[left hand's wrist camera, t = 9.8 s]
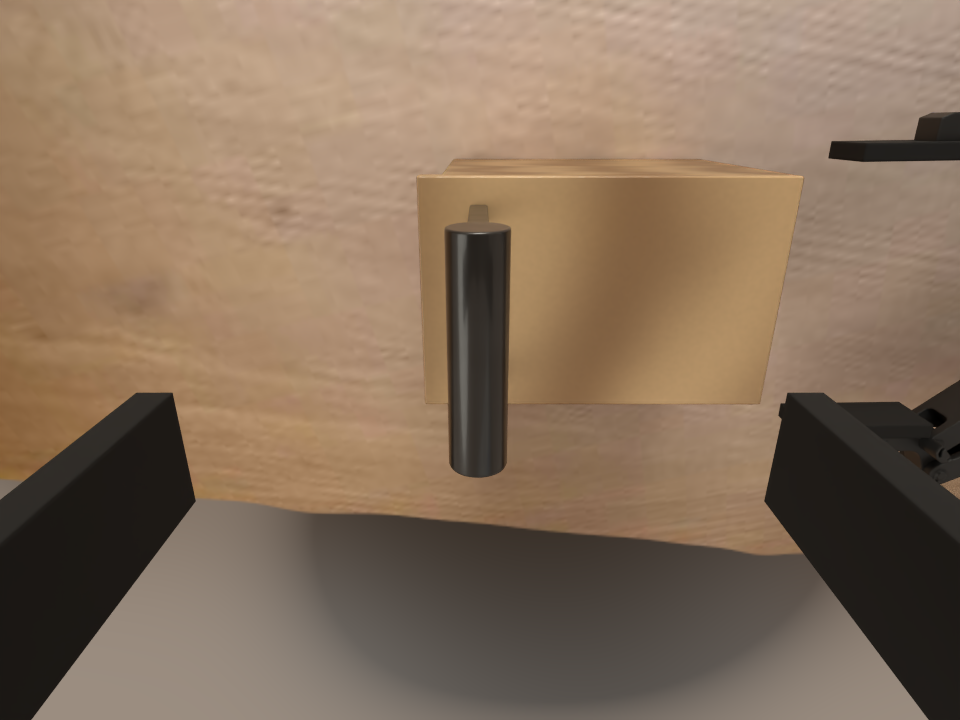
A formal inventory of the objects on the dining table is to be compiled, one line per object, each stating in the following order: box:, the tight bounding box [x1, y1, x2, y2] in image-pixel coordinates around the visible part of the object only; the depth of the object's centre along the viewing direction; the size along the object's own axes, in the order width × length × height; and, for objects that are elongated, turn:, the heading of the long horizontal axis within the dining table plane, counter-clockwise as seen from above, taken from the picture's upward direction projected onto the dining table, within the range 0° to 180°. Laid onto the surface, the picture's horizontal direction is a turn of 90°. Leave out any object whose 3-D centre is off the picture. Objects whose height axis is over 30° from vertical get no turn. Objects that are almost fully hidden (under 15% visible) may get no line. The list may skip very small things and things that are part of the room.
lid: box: [417, 175, 804, 478], centre depth 21 cm, size 15×10×8 cm, turn 90°
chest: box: [442, 159, 791, 175], centre depth 30 cm, size 14×10×10 cm
